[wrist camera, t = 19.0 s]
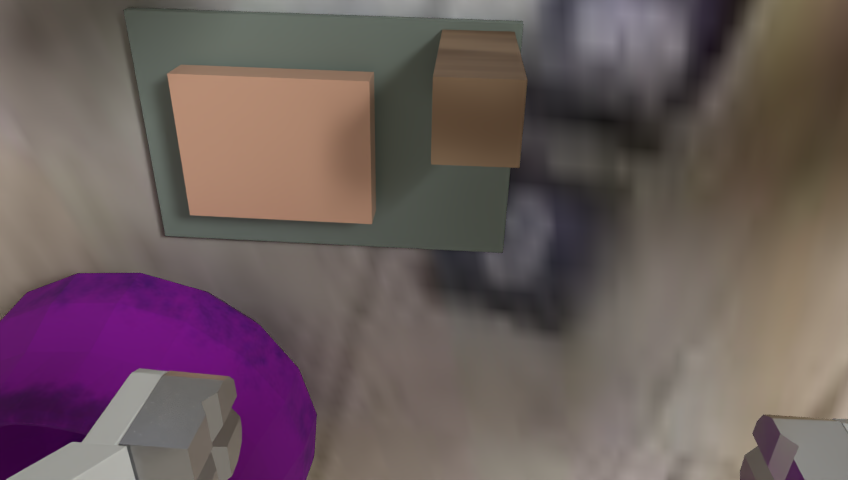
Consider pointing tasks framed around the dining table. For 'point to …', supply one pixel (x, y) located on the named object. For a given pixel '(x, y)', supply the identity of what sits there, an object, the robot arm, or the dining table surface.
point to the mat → (394, 121)
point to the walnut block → (478, 99)
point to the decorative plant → (142, 367)
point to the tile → (276, 142)
